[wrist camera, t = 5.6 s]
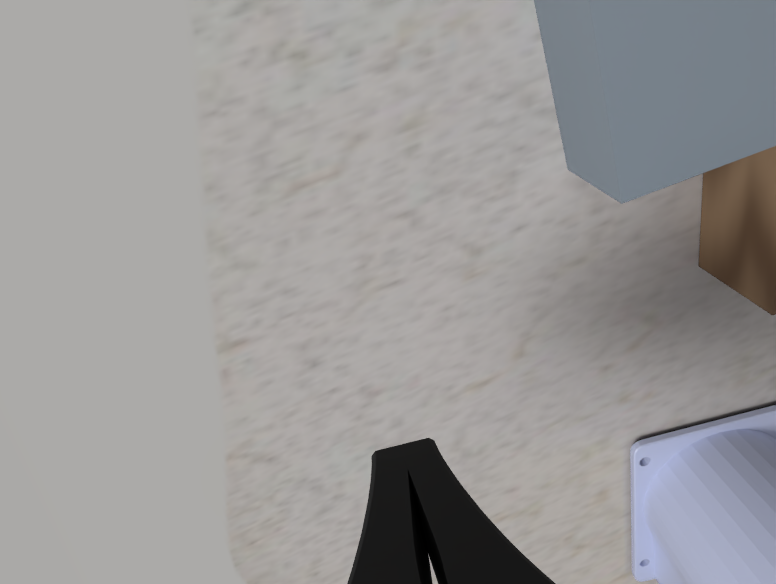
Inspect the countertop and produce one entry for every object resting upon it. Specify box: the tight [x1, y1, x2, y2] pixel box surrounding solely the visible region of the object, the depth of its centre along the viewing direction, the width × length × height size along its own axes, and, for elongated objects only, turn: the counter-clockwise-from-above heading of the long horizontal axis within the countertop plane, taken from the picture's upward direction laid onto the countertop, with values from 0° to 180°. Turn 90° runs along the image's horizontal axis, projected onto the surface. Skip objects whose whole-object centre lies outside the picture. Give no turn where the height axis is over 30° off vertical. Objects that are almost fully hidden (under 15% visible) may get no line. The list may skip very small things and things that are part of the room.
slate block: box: [534, 0, 776, 204], centre depth 17 cm, size 6×5×4 cm
